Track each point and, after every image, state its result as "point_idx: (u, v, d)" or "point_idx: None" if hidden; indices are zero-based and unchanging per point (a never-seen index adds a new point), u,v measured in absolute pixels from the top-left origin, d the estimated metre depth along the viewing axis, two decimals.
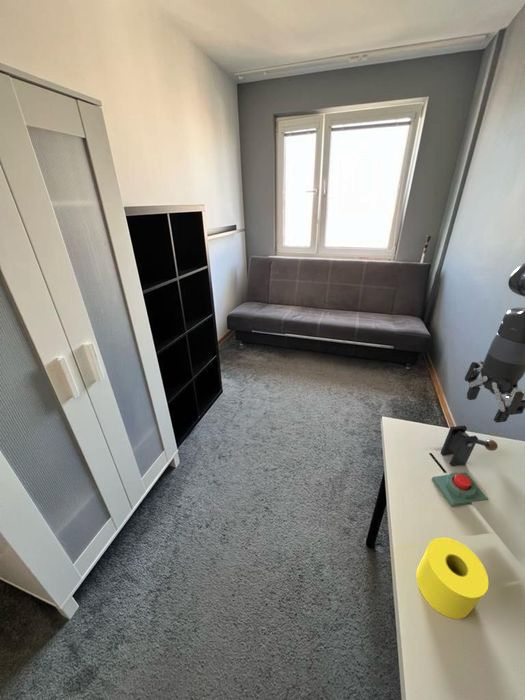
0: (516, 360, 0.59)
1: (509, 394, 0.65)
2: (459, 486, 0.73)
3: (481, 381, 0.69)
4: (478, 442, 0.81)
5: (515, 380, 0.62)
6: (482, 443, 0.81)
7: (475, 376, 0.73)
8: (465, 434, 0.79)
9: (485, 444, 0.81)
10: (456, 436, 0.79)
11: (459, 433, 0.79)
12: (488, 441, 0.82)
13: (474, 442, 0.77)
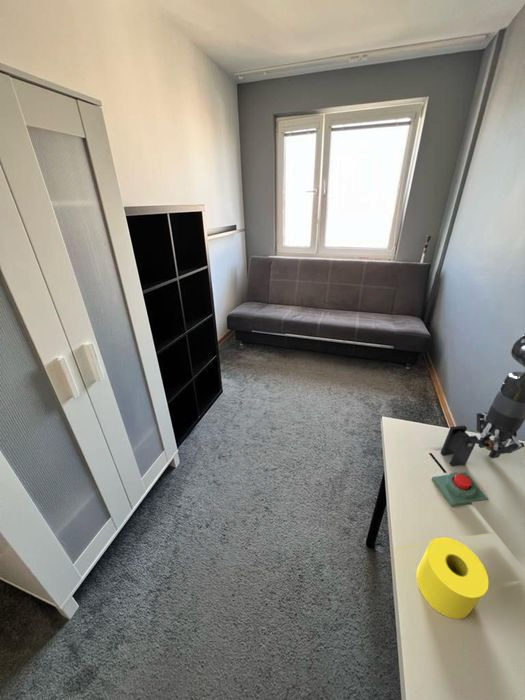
0: (515, 415, 0.73)
1: (505, 438, 0.79)
2: (459, 486, 0.73)
3: (488, 429, 0.81)
4: (478, 442, 0.81)
5: (514, 430, 0.75)
6: (482, 443, 0.81)
7: (485, 427, 0.85)
8: (465, 434, 0.79)
9: (485, 444, 0.81)
10: (456, 436, 0.79)
11: (459, 433, 0.79)
12: (488, 441, 0.82)
13: (474, 442, 0.77)
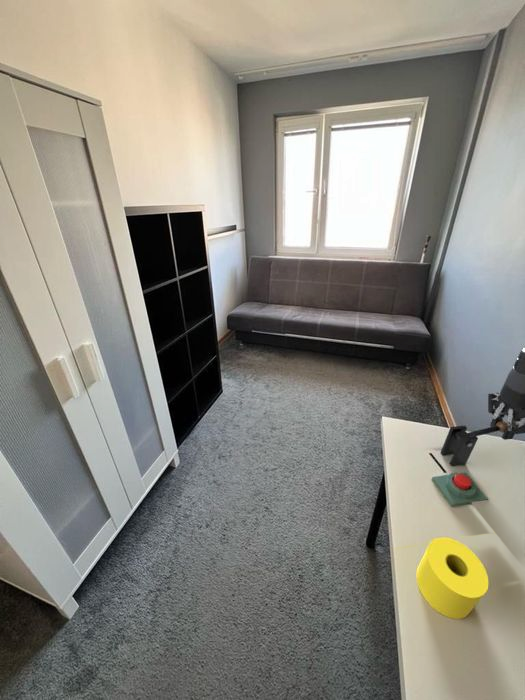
0: None
1: None
2: (459, 486, 0.73)
3: (500, 409, 0.78)
4: (484, 433, 0.79)
5: None
6: (490, 431, 0.79)
7: (497, 407, 0.81)
8: (463, 434, 0.79)
9: (494, 430, 0.79)
10: (456, 438, 0.80)
11: (456, 435, 0.79)
12: (497, 425, 0.79)
13: (474, 442, 0.77)
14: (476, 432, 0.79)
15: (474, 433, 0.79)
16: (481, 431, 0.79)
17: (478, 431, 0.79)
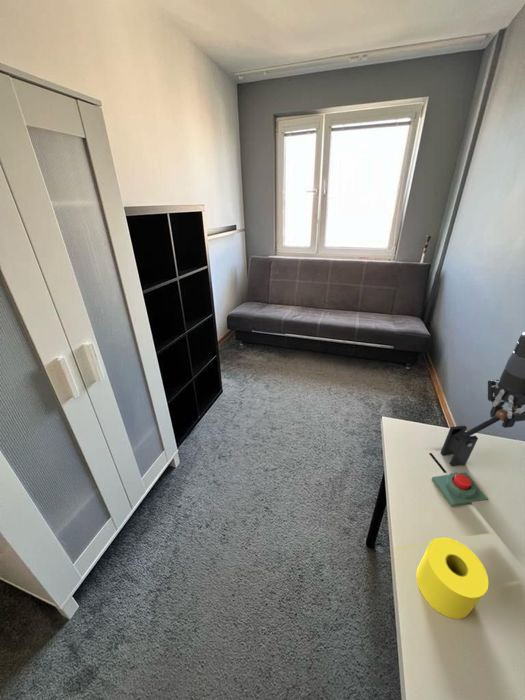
0: None
1: None
2: (459, 486, 0.73)
3: (500, 396, 0.75)
4: (483, 427, 0.78)
5: None
6: (489, 424, 0.77)
7: (497, 395, 0.79)
8: (461, 435, 0.79)
9: (494, 421, 0.77)
10: (457, 439, 0.80)
11: (456, 437, 0.80)
12: (496, 415, 0.77)
13: (474, 442, 0.77)
14: (475, 428, 0.78)
15: (473, 430, 0.78)
16: (480, 426, 0.78)
17: (477, 427, 0.78)
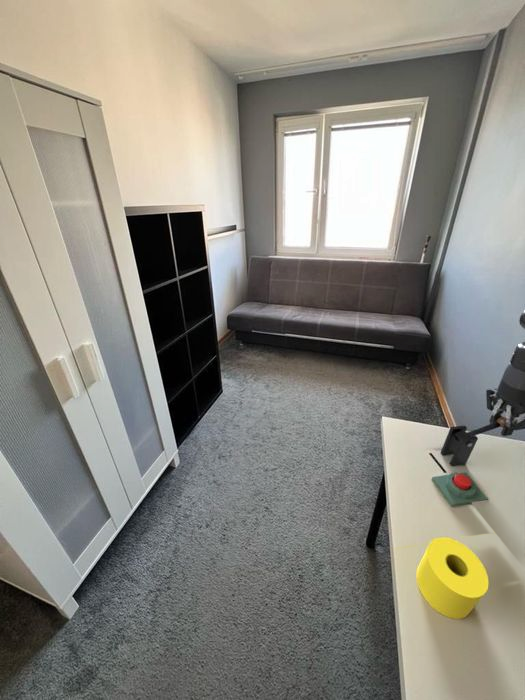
0: None
1: None
2: (459, 486, 0.73)
3: (499, 405, 0.77)
4: (484, 430, 0.78)
5: None
6: (490, 428, 0.78)
7: (495, 404, 0.81)
8: (462, 434, 0.79)
9: (495, 427, 0.78)
10: (456, 439, 0.80)
11: (456, 436, 0.79)
12: (498, 421, 0.78)
13: (474, 442, 0.77)
14: (476, 431, 0.79)
15: (474, 432, 0.79)
16: (481, 429, 0.79)
17: (478, 429, 0.79)
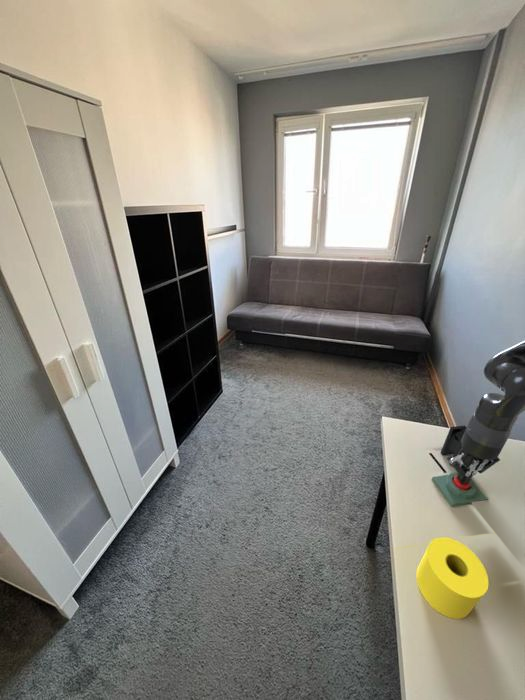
0: (467, 428, 0.67)
1: None
2: (458, 487, 0.74)
3: None
4: None
5: (464, 449, 0.68)
6: None
7: None
8: (462, 434, 0.79)
9: None
10: (456, 439, 0.80)
11: (456, 436, 0.79)
12: None
13: None
14: None
15: None
16: None
17: None
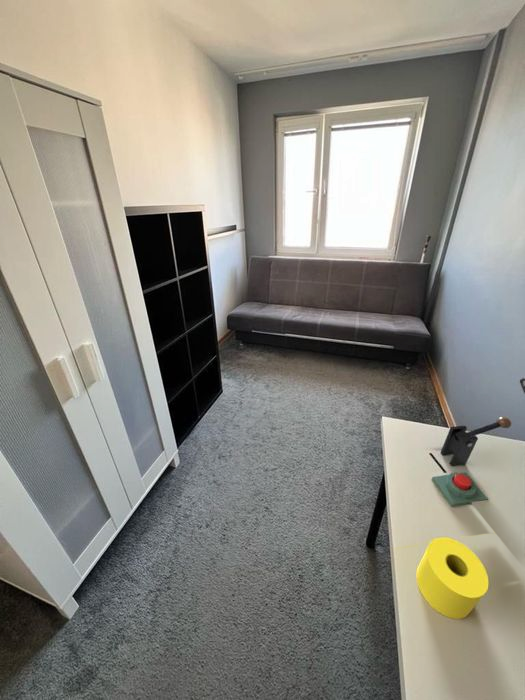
0: None
1: None
2: (459, 486, 0.73)
3: None
4: (484, 431, 0.78)
5: None
6: (490, 428, 0.78)
7: None
8: (462, 434, 0.79)
9: (495, 427, 0.78)
10: (456, 439, 0.80)
11: (456, 436, 0.79)
12: (498, 421, 0.79)
13: (474, 442, 0.77)
14: (476, 431, 0.79)
15: (474, 432, 0.79)
16: (481, 429, 0.79)
17: (478, 429, 0.79)
